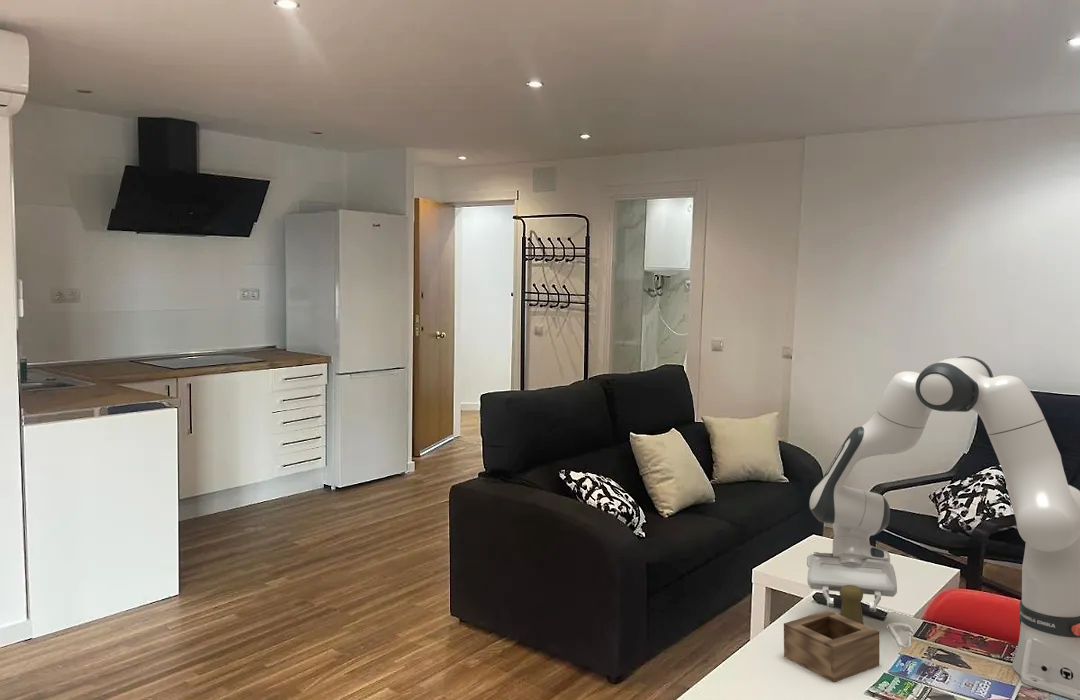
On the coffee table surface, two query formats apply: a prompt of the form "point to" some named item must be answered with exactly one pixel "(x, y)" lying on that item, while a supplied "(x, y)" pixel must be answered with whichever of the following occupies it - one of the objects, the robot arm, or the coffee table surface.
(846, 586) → the cork
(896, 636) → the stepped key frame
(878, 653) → the walnut box
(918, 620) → the coffee table surface
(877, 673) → the coffee table surface
